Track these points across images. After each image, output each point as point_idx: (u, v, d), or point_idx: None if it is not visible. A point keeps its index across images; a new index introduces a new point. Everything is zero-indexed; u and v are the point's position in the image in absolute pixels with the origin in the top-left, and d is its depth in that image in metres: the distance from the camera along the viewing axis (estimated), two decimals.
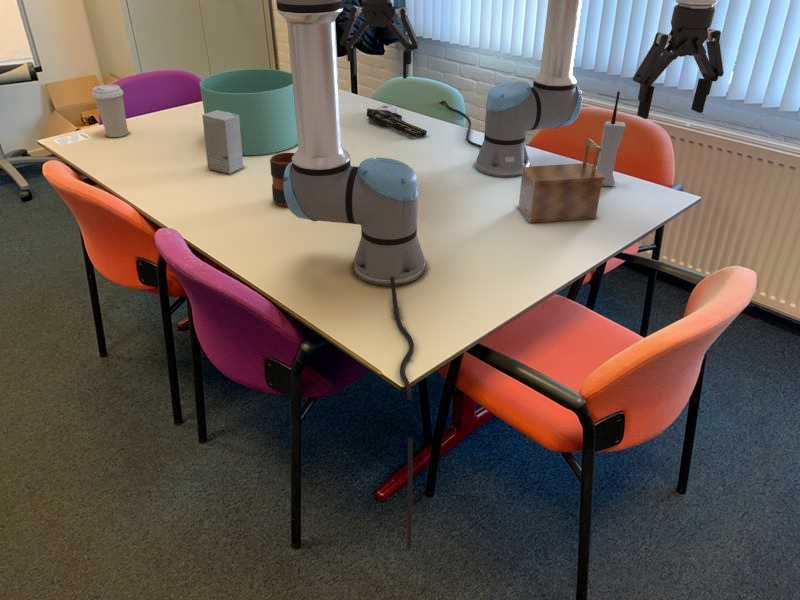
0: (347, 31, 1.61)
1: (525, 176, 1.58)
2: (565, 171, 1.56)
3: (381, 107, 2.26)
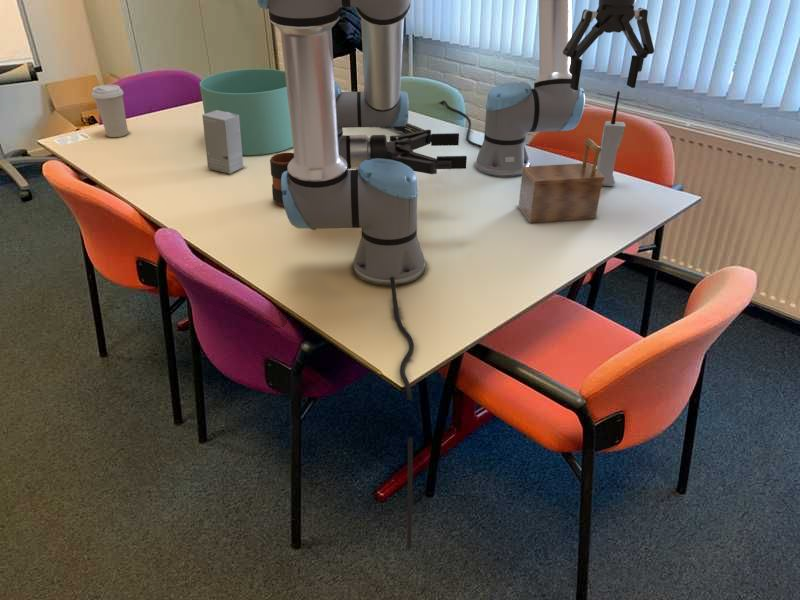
0: (418, 159, 1.40)
1: (525, 176, 1.58)
2: (565, 171, 1.56)
3: None
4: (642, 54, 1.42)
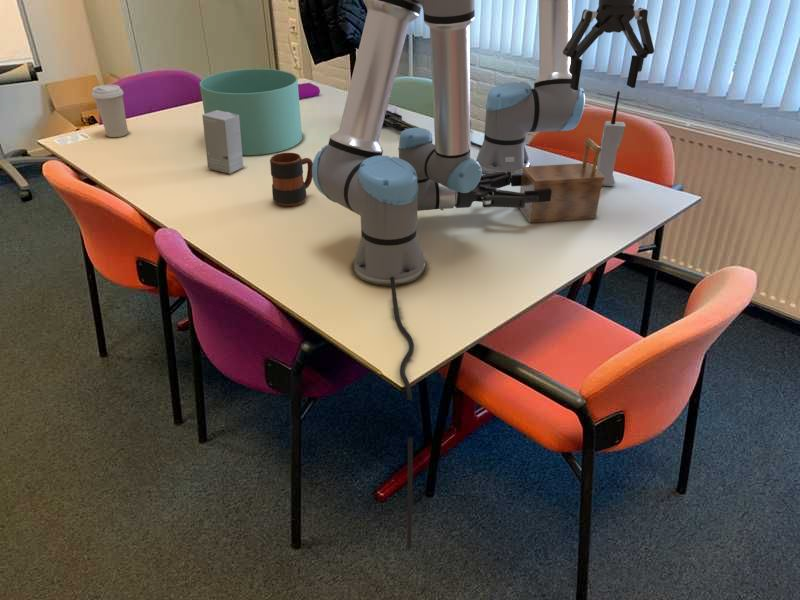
0: (508, 196, 1.50)
1: (525, 176, 1.58)
2: (565, 171, 1.56)
3: None
4: (642, 54, 1.42)
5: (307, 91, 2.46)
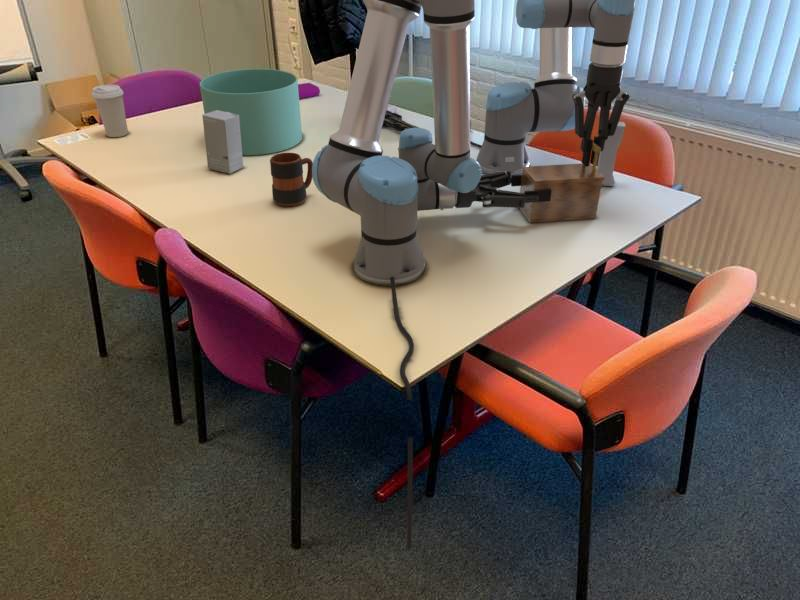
0: (508, 196, 1.50)
1: (525, 176, 1.58)
2: (565, 171, 1.56)
3: None
4: (604, 135, 1.52)
5: (307, 91, 2.46)
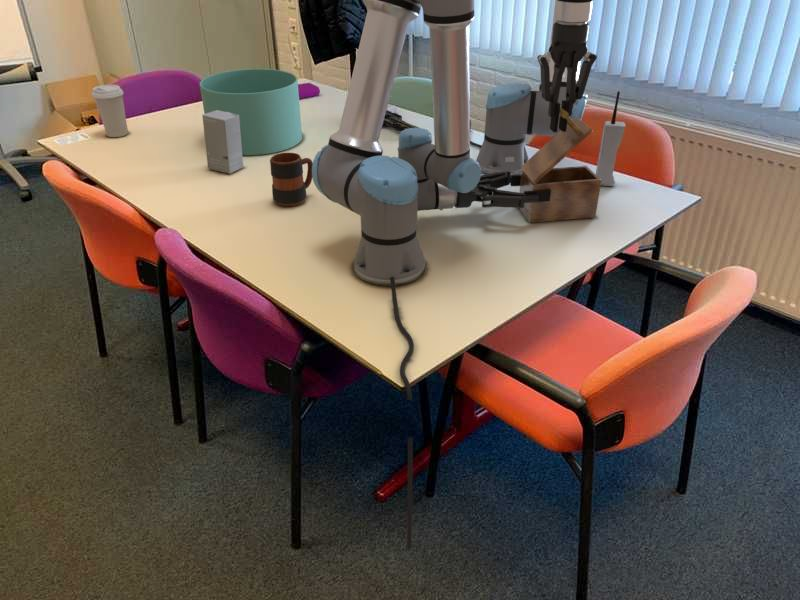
0: (507, 196, 1.50)
1: (524, 176, 1.58)
2: (556, 147, 1.53)
3: None
4: (571, 99, 1.46)
5: (307, 91, 2.46)
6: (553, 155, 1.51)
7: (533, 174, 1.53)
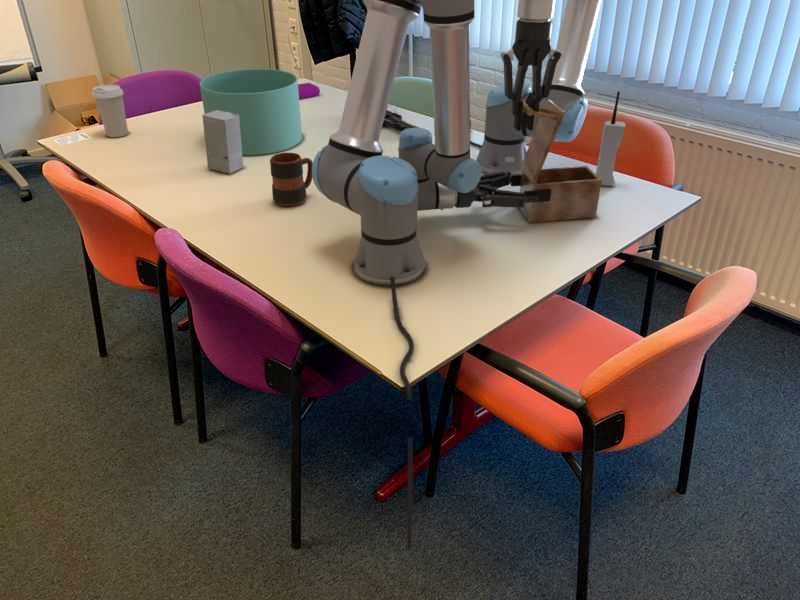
0: (508, 196, 1.50)
1: (524, 176, 1.58)
2: (540, 139, 1.51)
3: None
4: (537, 97, 1.44)
5: (307, 91, 2.46)
6: (540, 149, 1.50)
7: (531, 174, 1.53)
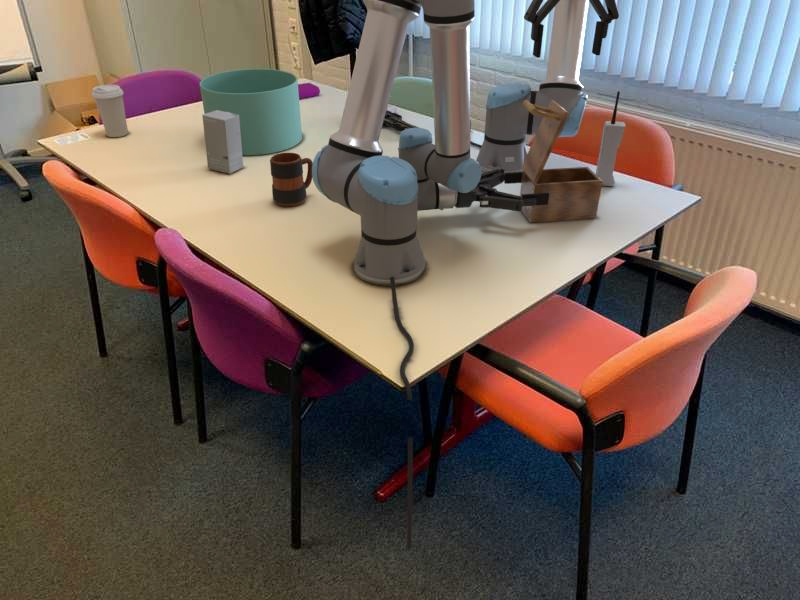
0: (505, 198, 1.49)
1: (525, 176, 1.58)
2: (543, 139, 1.51)
3: None
4: (606, 19, 1.37)
5: (307, 91, 2.46)
6: (543, 149, 1.50)
7: (532, 173, 1.53)
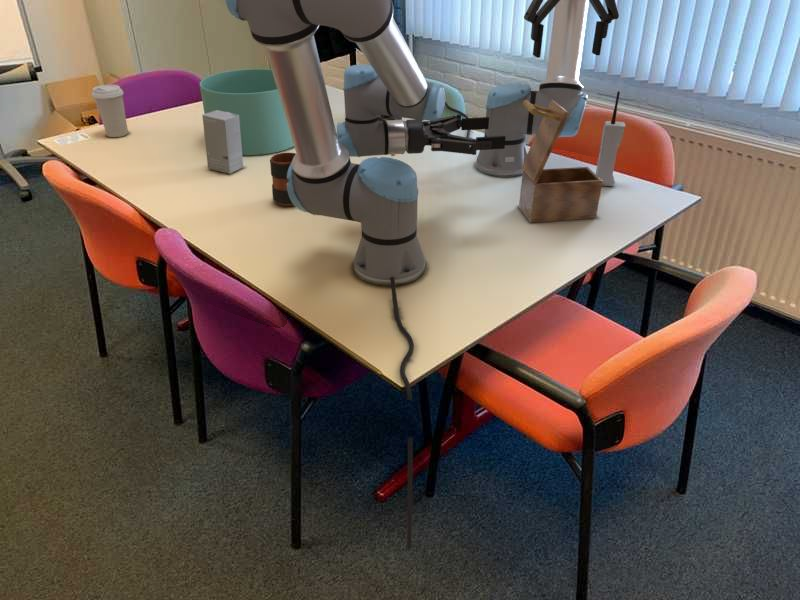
0: (458, 140, 1.40)
1: (525, 176, 1.58)
2: (543, 139, 1.51)
3: None
4: (606, 19, 1.37)
5: None
6: (543, 149, 1.50)
7: (532, 173, 1.53)
